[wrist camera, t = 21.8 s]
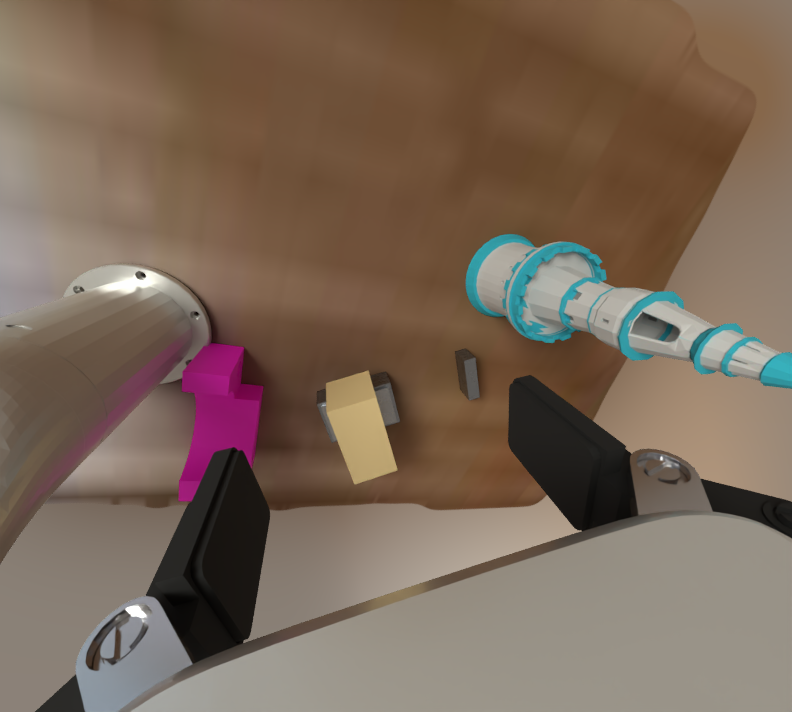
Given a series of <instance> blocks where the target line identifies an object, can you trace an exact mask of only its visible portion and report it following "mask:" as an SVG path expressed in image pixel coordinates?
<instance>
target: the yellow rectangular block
mask: <svg viewBox="0 0 792 712" xmlns="http://www.w3.org/2000/svg"><path fill="white" fill-rule="evenodd" d="M326 411H327V415H328V418H329V420H330V423H331V425H332V428H333V431H334V433H335V436H336V438H337V441H338V443H339V446H340V449H341V451H342V454H343V456H344V459H345V461H346V464H347V467H348V469H349V472H350V474H351V477H352V480H353V482H354V485H355V484H358V483H361V482H364V481H367V480H370V479H373V478H376V477H379V476H382V475H385V474H388V473H391V472H394V471H397V466H396V463H395V460H394V456H393V453H392V449H391V446H390V443H389V439H388V436H387V432H386V429H385V425H384V422H383V419H382V415H381V412H380V408H379V405H378V402H377V398H376V395H375V391H374V388H373V385H372V381H371V378H370V374H369V371H365V372H362V373H359V374H355V375H352V376H349V377H345V378H342V379H338V380H335V381H332V382H328V383H326Z"/></svg>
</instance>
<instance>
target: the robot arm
mask: <svg viewBox="0 0 792 712" xmlns="http://www.w3.org/2000/svg"><path fill="white" fill-rule="evenodd" d="M143 272H144V273H145V274H146V277H145V276H144V275H143ZM196 312H198V313H199V314H200V315H197V314H196ZM211 340H212V330H211V325H210V320H209V317H208V315H207V313H206V311H205V308H204V307H203V305H202V304H201V302H200V301H199V299H198V298H197V297H196V296H195V295H194V294H193V293H192V292H191V291H190V290H189V288H187V287H186V286H185V285H183V284H182V283H181V282H180V281H178V280H177V279H175V278H173V277H172V276H170V275H168V274H166V273H164V272H162V271H159V270H156V269H154V268H151V267H147V266H142V265H138V264H125V263H119V264H111V265H105V266H101V267H97V268H94V269H91V270H89V271H87V272H85V273H83V274H81V275H80V276H79V277H78V278H76V279H75V280H74V281H73V282H72V283H71V284H70V286H69V287H68V288H67V290H66V291H65V293H64V296H63V298H61V299H58V300H55V301H52V302H48V303H45V304H42V305H39V306H36V307H32V308H29V309H26V310H23V311H20V312H16V313H13V314H10V315H7V316H4V317H1V318H0V564H1V562H2V561H3V559H4V558H5V556H6V554H7V553H8V551H9V550H10V548H11V547H12V545H13V544H14V543H15V541H16V540H17V538H18V537H19V535H20V534H21V532H22V531H23V530H24V528H25V527H26V526H27V524H28V523H29V522H30V521H31V519H32V518H33V517H34V515H35V514H36V513H37V511H38V510H39V509H40V508H41V507H42V506H43V504H44V503H45V502H46V501H47V500H48V499H49V497H50V496H51V495H52V494H53V493H54V492H55V491H56V489H57V488H58V487H59V486H60V485H61V484H62V483H63V482H64V481H65V480H66V479H67V478H68V477H69V475H70V474H71V473H72V472H73V471H74V470H75V469H76V468H77V467H78V466H79V465H80V464H81V463H82V462H83V461H84V460H85V459H86V458H87V457H88V456H89V455H90V454H91V453H92V452H93V451H94V450H95V449H96V448H97V447H98V446H99V445H100V444H101V443H102V442H103V441H104V440H105V439H106V438H107V437H108V436H109V435H110V434H111V433H112V432H113V431H114V430H115V429H116V428H117V427H118V425H119V424H120V423H121V422H122V421H123V420H124V419H125V418H126V417H127V416H128V415H129V414H130V413H131V412H132V411H133V410H134V409H135V408H136V407H137V406H138V405H139V404H140V403H141V402H142V401H143V400H144V399H145V398H146V397H147V396H148V395H149V394H150V393H151V392H152V391H153V390H154V389H155V388H156V387H157V386H158V385H159V384H164V383H169V382H173V381H176V380H179V379H181V378H182V372H183V370H184V369H185V368H186V367H187V366H188V364H189V363H190V362H191V360H193V358H194V357H195V356H196V355H197V354H198V352H199V351H200V350H201V349H202V348H203V346H209V345H210V344H211ZM508 443H509V447H510V449H511V451H512V452H513V453H514V455H515V456H516V457H517V458H518V460H519V461H520V462H521V463H522V464H523V466H524V467H525V468H526V469H527V471H528V472H529V473H530V474H531V475H532V477H533V478H534V479H535V480H536V482H537V483H538V484H539V485H540V486H541V488H542V489H543V490H544V491H545V493H546V494H547V495H548V496H549V497H550V499H551V500H552V501H553V502H554V504H555V505H556V506H557V507H558V508H559V510H560V511H561V512H562V513H563V515H564V516H565V517H566V518H567V519H568V521H569V522H570V523H571V524H572V525H573V527H574V528H575V529H577V530H582V532H579V533H575V534H572V535H569V536H565V537H563V538H559V539H556V540H553V541H550V542H547V543H544V544H541V545H537V546H534V547H531V548H528V549H525V550H522V551H519V552H516V553H513V554H509V555H506V556H503V557H500V558H497V559H494V560H491V561H488V562H485V563H481V564H478V565H475V566H472V567H469V568H466V569H463V570H460V571H457V572H454V573H451V574H448V575H445V576H442V577H439V578H435V579H432V580H429V581H427V582H423V583H420V584H417V585H414V586H411V587H408V588H405V589H402V590H399V591H396V592H393V593H390V594H387V595H384V596H381V597H378V598H375V599H372V600H369V601H366V602H363V603H360V604H357V605H354V606H351V607H348V608H345V609H342V610H339V611H336V612H333V613H330V614H327V615H324V616H321V617H318V618H315V619H312V620H309V621H306V622H303V623H300V624H297V625H294V626H291V627H289V628H286V629H283V630H280V631H277V632H274V633H272V634H269V635H266V636H263V637H260V638H257V639H255V640H252V641H249V642H246V643H243V641H244V640H245V639H248V638H249V636H250V632H251V628H252V622H253V616H254V610H255V604H256V598H257V592H258V586H259V580H260V574H261V568H262V562H263V556H264V550H265V544H266V538H267V532H268V526H269V520H270V511H269V507H268V505H267V502H266V500H265V498H264V496H263V493H262V491H261V489H260V487H259V484H258V482H257V480H256V478H255V475H254V473H253V471H252V469H251V466H250V464H249V462H248V460H247V458H246V455H245V453H244V451H243V450H239V451H238V450H237V449H236V448H235V447H232V448H228V449H224V450H220V451H216V452H214V454H213V455H212V458H211V460H210V462H209V464H208V466H207V469H206V471H205V473H204V475H203V478H202V480H201V482H200V484H199V486H198V489H197V491H196V493H195V495H194V497H193V500H192V502H191V503H189V504H188V506H187V508H186V509H185V512H184V514H183V516H182V518H181V521H180V523H179V525H178V527H177V529H176V531H175V533H174V535H173V538H172V540H171V542H170V544H169V546H168V548H167V551H166V553H165V555H164V557H163V559H162V561H161V564H160V566H159V568H158V570H157V572H156V574H155V577H154V579H153V581H152V583H151V585H150V587H149V590H148V592H147V594H146V596H144V597H140V598H135V599H133V600H131V601H129V602H127V603H125V604H123V605H122V606H120V607H119V608H117V609H116V610H114V611H113V612H112V613H111V614H109V616H107V617H106V618H105V619H104V620H103V621H102V622H101V623H100V624H99V625H98V626H97V627H96V628H95V630H94V631H93V632H92V633H91V634H90V635H89V637H88V638H87V640H86V642H85V643H84V645H83V647H82V648H81V650H80V653H79V656H78V658H77V661H76V675H75V676H74V677H72V678H71V679H70V680H69V681H68V682H67V683H66V684H65V685H64V686H63V687H62V688H60V689H59V691H57V692H56V693H55V694H54V695H53V696H52V697H51V698H50V699H49V700H47V701H46V702H45V703H44V704H43V705H42V706H41V707H40V708H39V709H38V710H36V711H35V712H792V502H791V501H788V500H784V499H780V498H776V497H772V496H768V495H764V494H760V493H756V492H752V491H748V490H744V489H740V488H736V487H732V486H728V485H724V484H719V483H715V482H712V481H708V480H704V479H700V477H699V475H698V473H697V472H696V470H695V468H693V467H692V466H691V465H690V464H689V463H688V462H686V461H685V460H683V459H682V458H680V457H678V456H676V455H673V454H671V453H668V452H665V451H661V450H656V449H640V450H637V451H635V452H633V454H631V453H630V452H628V451H627V450H626V449H625V447H626V446H625V445H624V444H623V443H621V442H620V441H619V440H617V439H616V438H615V437H613V436H612V435H611V434H609V433H608V432H607V431H605V430H604V429H602V428H601V427H600V426H599V425H597V424H596V423H595V422H593V421H592V420H591V419H589V418H588V417H586V416H585V415H584V414H582V413H581V412H580V411H578V410H577V409H576V408H574V407H573V406H572V405H570V404H569V403H568V402H566V401H565V400H564V399H562V398H561V397H560V396H558V395H557V394H556V393H554V392H553V391H552V390H550V389H549V388H548V387H546V386H545V385H544V384H542V383H541V382H540V381H538V380H537V379H536V378H534V377H533V376H531V375H528V376H524V377H520V378H516V379H514V381H513V383H512V384H510V388H509V431H508Z"/></svg>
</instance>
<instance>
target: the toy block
mask: <svg viewBox="0 0 792 712" xmlns="http://www.w3.org/2000/svg"><path fill="white" fill-rule="evenodd" d="M243 356H244V347H238V346H231V345H224V344H217V343H211V344H210V345H209V346H203V348H202V349H201V350H200V351H199V352H198V354H197V355H196V356H195V357H194V358H193V360H192V361H191V362H190V363H189V364H188V366H187V367H186V368H185V369H184V370H183V372H182V392H192V393H194V394H195V399H196V418H195V427H194V433H193V438H192V443H191V447H190V451H189V455H188V458H187V462H186V465H185V468H184V470H183V473H182V476H181V478H180V480H179V501H192V500H193V497H194V495H195V493H196V491H197V489H198V486H199V484H200V482H201V480H202V478H203V475H204V473H205V471H206V469H207V466H208V464H209V462H210V460H211V458H212V455H213V454H214V452H216V451H220V450H224V449H228V448H232V447H235V448H236V449H237V450H238V451H239V450H243V451H244V453H245V455H246V458H247V460H248V462H249V464H250V466H251V469H252V466H253V461H254V457H255V450H256V442H257V434H258V426H259V418H260V410H261V402H262V394H263V386H258V385H248V384H241V377H242V366H243Z"/></svg>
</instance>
